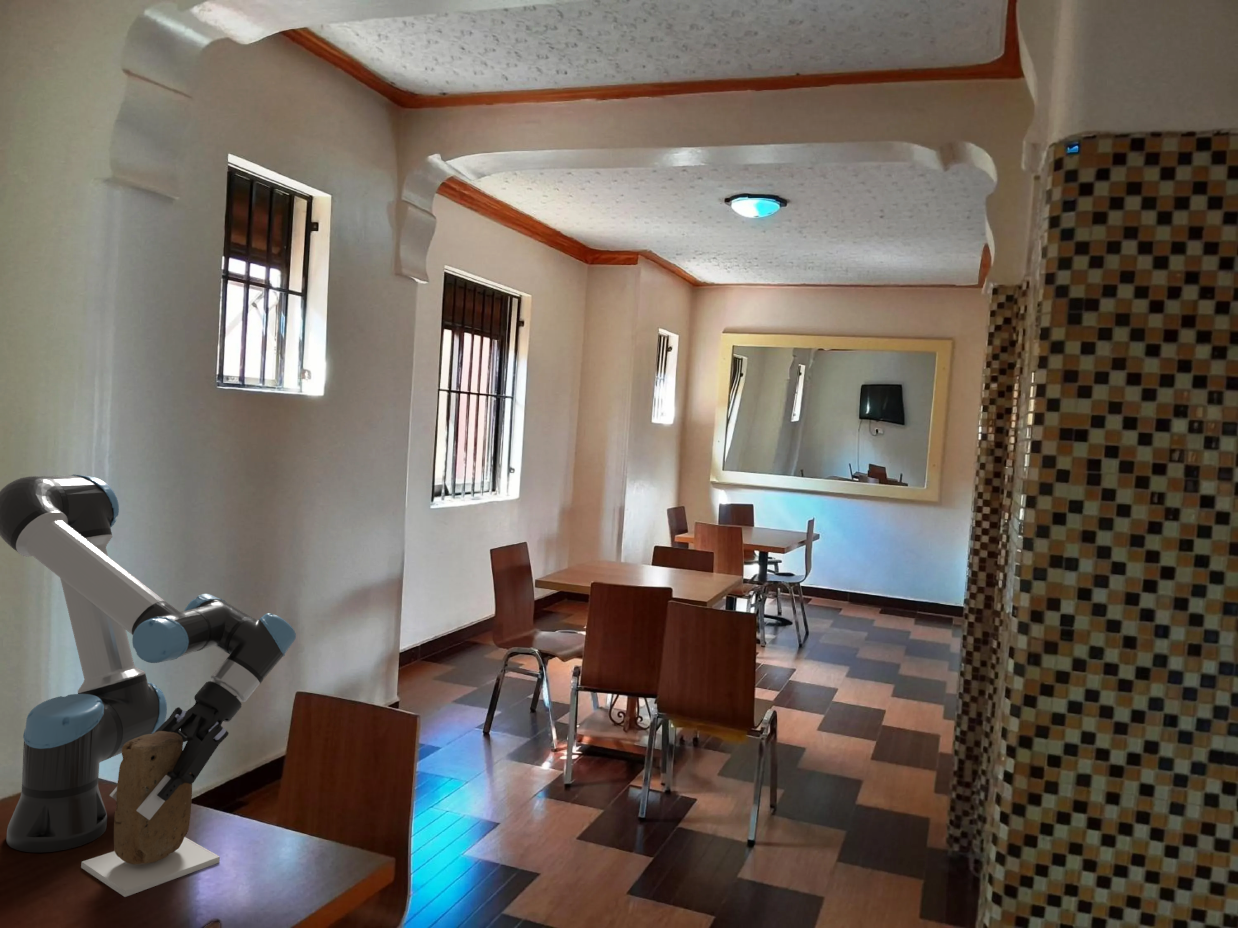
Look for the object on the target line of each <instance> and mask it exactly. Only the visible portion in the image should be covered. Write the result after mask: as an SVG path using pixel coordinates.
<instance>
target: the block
mask: <svg viewBox="0 0 1238 928" xmlns="http://www.w3.org/2000/svg"><path fill="white" fill-rule="evenodd" d="M183 744H184V742H183V740H182V737H181V736H180V735H179V734H177V733H174V732H166V731H157V732H154V733H152V734H147V735H142V736H140V737H137V738H134V739H132V740H130V741H128V742H126V743H125V744H124V746H123V747H122V753H121V756H122V760H121V762H120V764H119V771H118V777H117V784H116V785H117V786H116V787H117V795H116V800H115V806H116V807H115V811H114V819H113V821H114V822H113V846H114V847H113V848H114V850H113V851H115V853H116V855H117V856H118V857H120V859H122V860H123V861H125V862H127V863H129V864H146V863H153V862H156V861H159V860H161V859H163V858H165V857H167V856H168V855H169V854H170V853H173V852H174V851H176V850H177V849H179V847H180V846H181V844H182V842H183V839H184V837H186V836H187V835H188V832H189V831H190V830H189V828H190V823H191V814H192V813H191V812H192V798H193V797H192V796H193V783H192V784H189V783H184V784H182V785H179V786H178V788H177V789H176V790H175V791H174V793H173V794H172V795H171V796H170V798H169V799H168V800H166V801H165V802H164V803H163V804H162V806H161V807H160V808H159V809H158V810H157V812H156V813H155V814H154V815H153V817H152V818H151V819H150V820H149V819H147V818H146V817H144V816H143V815H141V814H140V813H139V812H137V811H136V810H137V809H138V808H139V806H140V805H141V804H142V803H143V802H144V800H145V799H146V798H147V797H148V796H149V794H150V793H151V792H152V791H153V790H154V788H155V787H156V786H157V785H158V784H159V782H160V781H161V780H162V779H163V778H164V776H165V775H167V776H169V775H168V772H171V771H173V769H174V767H175V765H176V763H177V761H178V759H179V757H180V755H181V753H182V751H183V749H184V745H183ZM189 774H191V772H190V773H189ZM169 777H170V776H169ZM170 778H171V777H170Z"/></svg>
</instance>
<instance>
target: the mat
mask: <svg viewBox="0 0 1238 928" xmlns="http://www.w3.org/2000/svg"><path fill="white" fill-rule="evenodd" d="M220 858H221V856H219V855H218V854H216V853H214V852H213V851H210V850H209V849H207V848H205V847H204V846H202V845H200V844H198V843H197V842H195V841H193V840H191V839H189V838H187V837H186V836H185V837H184V839H183V842H182V844H181V846H180V847H179V849H177V850H176V851H174V852H173V853H170V854H169V855H168V856H167V857H165V858H163V859H161V860H159V861H156V862H153V863H146V864H129V863H127V862H125V861H123V860H122V859H120V857H118V856H117V855H116V853H115V850H113V851H110V852H107V853H104V854H102V855H97V856H95V857H92V858H89V859H86V860H83V861H81V864H80V865H81V866H80V868H81V869H83V870H84V871H85V872H87V873H88V874H89V875H91V876H93V877H94V878H96V879H98V881H100V882H102V883H103V884H105V885H106V886H108V887H109V888H110V889H112V890H114V891H115V892H117V894H120V895H121V896H123V897H124V898H126V897H129V896H132V895H135V894H136V893H139V892H143V891H145V890H147V889H151V888H153V887H155V886H156V887H157V886H160V885H162V884H165V883H167V882H170V881H173V880H175V879H177V878H181V877H184V876H186V875H188V874H192V873H195V872H197V871H199V870H203V869H205V868H208V867H211V866H214V865H216V864H220V861H221V860H220Z"/></svg>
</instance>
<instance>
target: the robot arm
mask: <svg viewBox="0 0 1238 928" xmlns="http://www.w3.org/2000/svg"><path fill="white" fill-rule="evenodd" d="M119 513H120V503H119V500H118V497H117V495H116V493H115V491H114V490H113V488H112V487H111V486H110V485H109V484H108V483H107V482H105V481H103V480H102V479H100V478H98V477H94V476H92V475H81V474H68V475H47V476H45V475H44V476H36V475H34V476H32V475H31V476H26V477H25V476H24V477H20V478H17V479H15V480H13V481H10V482H9V483H8V484H6V485H5V486H4V487H2V488H1V489H0V538H1V539H2V540H3V541H4V542H5V543H6V544H7V545H8V546H9V547H10V548H12V549H13V550H15V552H16V553H18V554H19V555H21V556H23V557H28V558H29V557H34V558H35V559H36V560H37V561H38V562H40V563H41V564H42V565H43V566H45V567H46V568H48V569H49V571H50V572H52V573H54V574H55V575H56V576H57V577H58V578H60V583H61V587H62V590H63V595H64V599H65V603H66V604H65V605H66V607H67V608H66V609H67V611H68V616H69V619H70V626H71V629H72V633H73V636H74V637H73V638H74V641H75V646H76V650H77V654H78V659H79V663H80V666H81V670H82V671H81V672H82V674H83V678H84V680H83V683H82V684H81V685H80V687H79V689H77V693H73V694H68V695H66V696H57V697H53V698H50V699H47V700H45V701H43V702H40V703H39V704H37V705H36V706H34V707H33V708H32V709H31V710H30V711H29V713H28V715H27V718H26V720H25V721H26V722H25V728H24V731H23V737H22V738H23V749H22V750H23V751H22V753H23V754H22V755H23V757H22V773H21V774H22V776H21V777H22V778H21V790H20V791H21V792H20V797H19V799H18V801H17V803H16V806H15V809H14V811H13V813H12V816H11V818H10V820H9V823H8V825H7V828H6V829H7V830H6V844H7V845H8V846H9V847H10V848H11V849H13V850H16V851H19V852H25V853H51V852H59V851H65V850H70V849H74V848H77V847H80V846H83V845H86V844H89V843H92V842H93V841H95V840H97V839H98V838H100V837H102V835H104V833H105V832H106V830H107V827H108V826H107V825H108V823H107V822H108V814H107V809H106V807H105V803H104V801H103V799H102V795H101V792H100V789H99V788H100V787H99V776H100V775H99V774H100V763H102V762H104V761H106V760H109V759H112V758H114V757H116V756H119V755H120V754H122V747H123V746H124V744H125V743H126V742H128V741H130V740H132V739H134V738H137V737H140V736H142V735H147V734H152V733H154V732H157V731H166V732H174V733H177V734H179V735H180V736H181V737H182V740H183V743H185V745H184V746H183V749H182V753H181V755H180V757H179V759H178V761H177V763H176V765H175V767H174V769H173V771H171V772H168V775H169V776H170V777H171V778H170V777H169V776H167V775H165V776H164V778H163V779H162V780H161V781H160V782H159V784H158V785H157V786H156V787H155V788H154V790H153V791H152V792H151V793H150V794H149V796H148V797H147V798H146V799H145V800H144V802H143V803H142V804H141V805H140V806H139V808H138V809H137V810H136V811H137V812H139V813H140V814H141V815H143V816H144V817H146V818H147V819H149V820H150V819H151V818H152V817H153V815H154V814H155V813H156V812H157V810H158V809H159V808H160V807H161V806H162V804H163V803H164V802H165V801H166V800H168V799H169V798H170V796H171V795H172V794H173V793H174V791H175V790H176V789H177V788H178V786H179V785H182V784H184V783H189V784H192V785H193V784H194V782H195V781H196V779H197V778H198V776H199V775H200V774H201V772H202V771H203V769H204V768H205V766H206V764H207V763H208V762H209V760H210V759H211V757H212V755H214V753H215V751H216V750H217V749H218V747H219V746H220V744H221V743H222V742H223V741H224V740H225V739H226V738H227V737H228V736H229V731H228V730H227V729H225V727H223V726H222V724H223V722H225V723H226V722H227V723H228V722H231V721H232V719H233V718H234V717H235V715H236V714H237V713H238V712H239V711H240V710H241V708H242V703H245V702H247V700H248V699H249V698H250V697H251V696H252V695H253V693H254V692H255V690H256V689H257V688H258V687H259V685H261V684H262V682H263V681H264V679H265V678H266V677H267V676H268V675H269V674H270V672H271V671H272V670H273V669H274V668H275V667H276V666H277V664H278V663H279V661H280V660H281V659H282V658H283V657H285V656H286V653H287V651H288V650H290V648H291V646H292V645H293V644H294V643H295V640H297V633H296V631H295V628H293V627H292V625H291V624H290V623H289V622H287V621H286V620H285V619H284V618H282V617H281V616H279V615H276V614H274V613H270V612H268V613H265V614H264V615H262V616H261V617H260V618H259V619H257V618H255V617H252V616H250V615H248V614H246V613H245V612H243V611H242V610H240V609H238V608H237V607H235V606H234V605H231V604H230V603H228V602H227V601H226V600H224V599H222V598H219V597H217V596H214V595H213V594H210V593H202V594H199V595H198V596H197V597H196V598H193V599H192V600H190V602H189V603H188V604H187V606H186V607H185V608H184V610H183V611H180V610H178V609H177V608H175V607H174V606H172V605H171V604H170V603H168V602H167V601H166V600H164V599H163V598H162V597H161V596H160V595H158V594H157V593H156V592H154V591H153V590H152V589H151V588H149V587H148V586H147V585H145V584H144V583H143V582H142V581H140V580H139V579H138V578H136V576H135V575H133V574H131V573H130V572H129V571H128V570H127V569H126V568H124V567H123V566H121V565H120V564H119V563H118V562H116V561H115V560H114V559H112V558H111V556H109V553H108V550H107V546H108V544H109V543H110V541H111V540H112V538H113V532H112V529H111V528H113V526H114V525H115V524H116V522H117V517H119ZM127 632H128V633H130V635H132V640H131V641H132V642H131V643H132V647H133V649H134V650H135V652H136V655H137V657H139V658H140V659H141V660H142V661H143V662H146V663H151V664H158V663H164V662H168V661H175V660H177V659H179V658H180V657H183V656H186V655H189V654H192V653H196V652H199V651H202V650H205V649H209V648H211V647H216V648H218V649H220V650H221V651H223V652H225V653H227V654H229V655H228V656H227V658H226V659H224V661H223V662H222V663H221V664H220V666H218V668H217V669H216V670H215V671H214V672H213V673H212V675H210V680H209V681H205V683H204V684H203V686H202V687H201V688H199V690H198V691H197V692H196V694H195V695H194V697H193V698H194V701H195V702H194V704H193V705H192V706H191V707H190V708H188V709H187V710H183V709H182V708H181V707H180V706H179V707H176V708H175V709H174V710H173V711H172V713H171V714H170V716H169V717H168V718H167V715H168V704H167V699H166V697H165V694H164V692H163V691H162V690H161V688H158V687H157V685H156V684H154V683H153V682H150V681H148V678H147V675H146V674H147V673H146V672H145V671H144V670H142V669H140V668H138V667H137V666H136V665H135V664H134V659H133V654H132V650H131V647H130V642H129V638H128V633H127ZM190 772H191V774H189V773H190ZM116 795H117V786H116V787H115V788H114V790H112V792H111V793H110V794H109V797H111V798H112V799H113V800H115V801H116Z"/></svg>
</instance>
